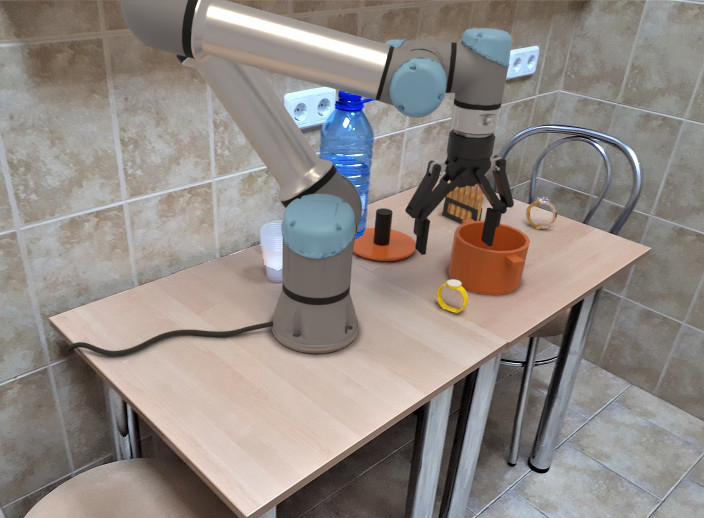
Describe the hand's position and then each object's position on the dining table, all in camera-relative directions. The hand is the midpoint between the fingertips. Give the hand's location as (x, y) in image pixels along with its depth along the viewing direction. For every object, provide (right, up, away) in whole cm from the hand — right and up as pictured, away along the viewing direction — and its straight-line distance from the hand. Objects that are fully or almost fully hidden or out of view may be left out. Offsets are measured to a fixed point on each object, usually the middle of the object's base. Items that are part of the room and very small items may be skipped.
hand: (453, 247), depth 112 cm
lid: (-11, +3, +26) cm, 29 cm away
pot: (+10, -5, +16) cm, 20 cm away
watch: (0, -12, +5) cm, 13 cm away
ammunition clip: (+11, +10, +41) cm, 43 cm away
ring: (+29, +8, +39) cm, 49 cm away
